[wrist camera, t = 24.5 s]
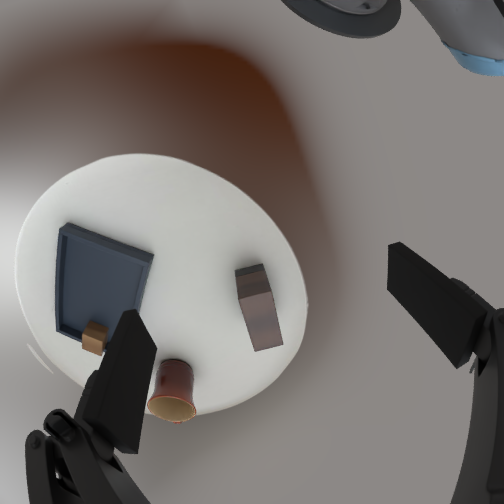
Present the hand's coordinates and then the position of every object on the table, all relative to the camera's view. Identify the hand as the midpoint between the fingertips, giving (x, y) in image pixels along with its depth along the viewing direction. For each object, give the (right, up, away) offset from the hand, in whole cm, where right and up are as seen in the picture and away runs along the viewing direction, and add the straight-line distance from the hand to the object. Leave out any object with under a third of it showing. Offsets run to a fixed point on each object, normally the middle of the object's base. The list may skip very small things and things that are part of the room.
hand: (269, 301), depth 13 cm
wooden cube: (-29, -12, +30) cm, 44 cm away
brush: (0, -4, +31) cm, 32 cm away
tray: (-27, -5, +28) cm, 39 cm away
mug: (-16, -23, +37) cm, 47 cm away
